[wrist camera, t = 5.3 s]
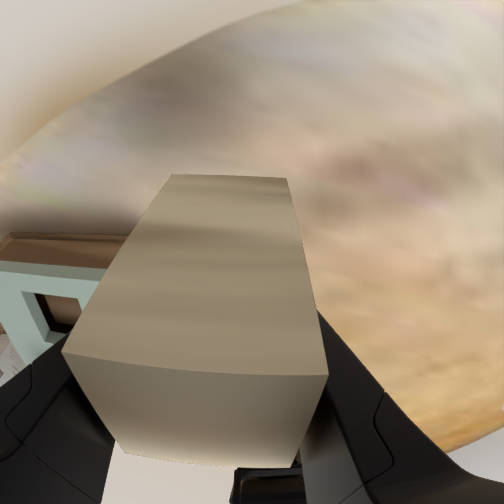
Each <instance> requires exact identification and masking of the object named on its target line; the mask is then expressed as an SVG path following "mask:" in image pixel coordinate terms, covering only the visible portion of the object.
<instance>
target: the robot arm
mask: <svg viewBox="0 0 504 504" xmlns="http://www.w3.org/2000/svg"><path fill="white" fill-rule="evenodd" d="M316 310H317V309H316ZM317 315H318V320H319V325H320V330H321V335H322V340H323V345H324V351H325V356H326V361H327V367H328V372H329V376H328V378H327V381H326V384H325V386H324V389H323V392H322V394H321V397H320V399H319V402H318V404H317V407H316V409H315V412H314V414H313V417H312V419H311V422H310V424H309V426H308V429H307V431H306V433H305V436H304V438H303V440H302V443H301V445H300V447H299V449H298V452H297V454H296V456H295V458H294V460H293V463H292V465H291V467H290V468H241V467H238V468H237V470H235V472H234V484H233V488H232V492H231V495H230V500H229V502H230V504H504V483H502V482H497V481H493V480H489V479H485V478H481V477H478V476H475V475H473V474H471V473H469V472H467V471H465V470H464V469H462V468H461V467H460V466H459V465H457V464H456V463H455V462H454V461H453V460H452V459H451V458H450V457H449V456H448V455H447V454H445V453H444V452H443V451H442V450H441V449H440V448H439V447H438V446H437V445H436V444H435V443H434V442H433V441H432V440H431V439H430V438H429V437H428V436H426V435H425V434H424V433H423V432H422V431H421V430H420V429H419V428H418V427H417V426H416V425H415V424H414V423H413V422H412V421H411V420H410V419H409V418H408V416H407V415H406V414H405V413H404V412H403V411H402V410H401V409H400V407H399V406H398V405H397V404H396V403H395V402H394V401H393V399H392V398H391V397H390V396H389V395H388V393H387V392H384V389H383V388H382V386H381V385H380V384H379V383H378V382H377V380H376V379H375V378H374V377H373V376H372V374H371V373H370V372H369V371H368V370H367V368H366V367H365V366H364V365H363V364H362V362H361V361H360V360H359V359H358V358H357V356H356V355H355V354H354V353H353V352H352V351H351V349H350V348H349V347H348V346H347V345H346V343H345V342H344V341H343V340H342V339H341V338H340V336H339V335H338V334H337V333H336V332H335V330H334V329H333V328H332V327H331V326H330V325H329V323H328V322H327V321H326V320H325V319H324V317H323V316H322V315H321V314H320V313H319V312H318V310H317ZM72 330H73V329H72ZM72 330H71V331H72ZM71 331H70V332H69V333H67V334H66V335H65V336H64V337H62V338H61V339H60V340H58V341H57V342H56V343H55V344H53V345H52V346H51V347H50V348H48V349H47V350H46V351H45V352H43V353H42V354H41V355H40V356H38V357H37V358H36V359H35V360H34V361H32V364H31V363H30V364H28V365H27V366H26V367H25V368H24V369H22V370H21V371H20V372H19V373H17V374H16V375H15V376H14V377H12V378H11V379H10V380H9V381H7V382H6V383H5V384H3V385H2V386H0V504H100V503H101V501H102V496H103V491H104V487H105V482H106V478H107V473H108V468H109V464H110V460H111V456H112V451H113V448H114V444H115V439H114V437H113V436H112V434H111V433H110V432H109V430H108V429H107V427H106V426H105V424H104V423H103V421H102V420H101V418H100V417H99V415H98V414H97V412H96V411H95V409H94V408H93V406H92V405H91V403H90V401H89V400H88V398H87V397H86V395H85V393H84V392H83V390H82V388H81V387H80V385H79V383H78V382H77V380H76V378H75V376H74V375H73V373H72V371H71V369H70V367H69V366H68V364H67V362H66V360H65V358H64V356H63V354H62V352H61V350H62V349H63V347H64V345H65V343H66V341H67V339H68V337H69V335H70V333H71Z"/></svg>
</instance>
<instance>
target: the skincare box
mask: <svg viewBox="0 0 504 504" xmlns="http://www.w3.org/2000/svg"><path fill="white" fill-rule="evenodd" d="M25 367H26V365H25V363H24V362H23V360H22V359H21V357H20V355H19V354H18V352H17V350H16V349H15V347H14V345H13V344H12V342H11V340H10V339H9V337H8V335H7V333H5V334H0V386H2V385H3V384H5V383H6V382H7V381H9V380H10V379H11V378H12V377H14V376H15V375H16V374H17V373H19V372H20V371H21V370H22V369H24V368H25Z"/></svg>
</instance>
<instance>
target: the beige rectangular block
mask: <svg viewBox="0 0 504 504" xmlns="http://www.w3.org/2000/svg"><path fill="white" fill-rule="evenodd" d="M61 352H62V354H63V356H64V358H65V360H66V362H67V364H68V366H69V367H70V369H71V371H72V373H73V375H74V376H75V378H76V380H77V382H78V383H79V385H80V387H81V388H82V390H83V392H84V393H85V395H86V397H87V398H88V400H89V401H90V403H91V405H92V406H93V408H94V409H95V411H96V412H97V414H98V415H99V417H100V418H101V420H102V421H103V423H104V424H105V426H106V427H107V429H108V430H109V432H110V433H111V434H112V436H113V437H114V439H115V440H116V441H117V443H118V444H119V446H120V447H121V448H122V449H123V451H124V452H125V453H128V454H132V455H137V456H143V457H149V458H154V459H160V460H167V461H174V462H181V463H189V464H200V465H210V466H223V467H241V468H290V467H291V465H292V463H293V460H294V458H295V456H296V454H297V452H298V449H299V447H300V445H301V443H302V440H303V438H304V436H305V433H306V431H307V429H308V426H309V424H310V422H311V419H312V417H313V414H314V412H315V409H316V407H317V404H318V402H319V399H320V397H321V394H322V392H323V389H324V386H325V384H326V381H327V378H328V376H329V372H328V367H327V361H326V356H325V351H324V345H323V340H322V335H321V330H320V325H319V320H318V315H317V310H316V305H315V300H314V295H313V290H312V286H311V281H310V276H309V272H308V267H307V263H306V258H305V254H304V249H303V245H302V241H301V236H300V232H299V228H298V224H297V219H296V215H295V211H294V207H293V203H292V199H291V195H290V191H289V187H288V183H287V179H286V178H274V177H254V176H228V175H171V177H170V178H169V179H168V181H167V182H166V183H165V185H164V186H163V187H162V189H161V190H160V191H159V193H158V194H157V196H156V197H155V198H154V200H153V201H152V203H151V204H150V205H149V207H148V208H147V210H146V211H145V213H144V214H143V216H142V217H141V218H140V220H139V221H138V223H137V224H136V226H135V227H134V229H133V230H132V232H131V233H130V235H129V236H128V238H127V239H126V241H125V242H124V244H123V245H122V247H121V248H120V250H119V252H118V253H117V255H116V256H115V258H114V259H113V261H112V263H111V264H110V266H109V267H108V269H107V271H106V272H105V274H104V276H103V277H102V279H101V281H100V282H99V284H98V286H97V287H96V289H95V291H94V292H93V294H92V296H91V297H90V299H89V301H88V303H87V304H86V306H85V308H84V310H83V311H82V313H81V315H80V317H79V319H78V320H77V322H76V324H75V326H74V328H73V330H72V331H71V333H70V335H69V337H68V339H67V341H66V343H65V345H64V347H63V349H62V350H61Z"/></svg>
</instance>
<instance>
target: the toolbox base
mask: <svg viewBox="0 0 504 504" xmlns="http://www.w3.org/2000/svg"><path fill="white" fill-rule="evenodd" d="M127 238H128V236H127V235H94V234H58V233H14V232H11V233H9V234H8V235H7V236H6V237H5V238H4V239H3V240H2V241H1V242H0V260H1V261H11V262H23V263H34V264H46V265H59V266H71V267H85V268H99V269H108V267H109V266H110V264H111V263H112V261H113V259H114V258H115V256H116V255H117V253H118V252H119V250H120V248H121V247H122V245H123V244H124V242H125V241H126V239H127ZM34 295H35V297H36V300H37V302H38V304H39V307H40V309H41V311H42V314H43V316H44V318H45V320H46V322H47V324H48V327H49V329H50V331H53V332H58V333H64V334H67V333H69V332H70V331H71V330H72V329H73V328H74V326H75V324H76V322H77V320H78V319H79V317H80V315H81V313H82V309H81V307H80V304H79V301H78V298H70V297H62V296H54V295H46V294H39V293H34Z"/></svg>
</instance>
